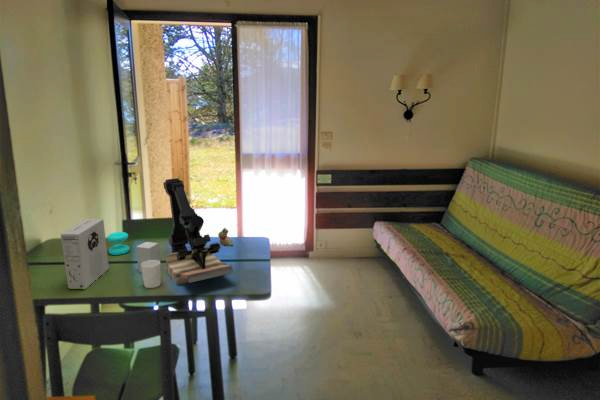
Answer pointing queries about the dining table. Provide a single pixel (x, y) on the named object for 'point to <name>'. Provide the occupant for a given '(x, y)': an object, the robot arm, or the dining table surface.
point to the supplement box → (147, 253)
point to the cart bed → (187, 265)
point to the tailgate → (207, 272)
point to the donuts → (118, 248)
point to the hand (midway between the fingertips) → (204, 268)
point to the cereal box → (85, 253)
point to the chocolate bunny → (225, 238)
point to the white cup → (151, 273)
